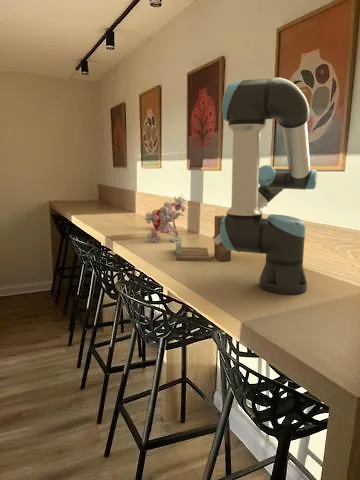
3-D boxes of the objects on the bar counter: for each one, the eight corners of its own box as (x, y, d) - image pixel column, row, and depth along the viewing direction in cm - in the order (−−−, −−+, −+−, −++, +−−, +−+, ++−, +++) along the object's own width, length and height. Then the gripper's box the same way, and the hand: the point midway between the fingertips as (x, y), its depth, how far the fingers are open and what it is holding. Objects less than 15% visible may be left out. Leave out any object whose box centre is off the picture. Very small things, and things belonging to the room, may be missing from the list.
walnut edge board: (209, 261, 158) (209, 245, 157) (175, 260, 159) (175, 245, 157) (206, 250, 178) (207, 237, 177) (177, 250, 178) (177, 236, 177)
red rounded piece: (151, 228, 239) (150, 206, 236) (166, 228, 240) (166, 206, 238) (152, 231, 229) (152, 208, 226) (169, 231, 230) (169, 208, 228)
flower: (157, 232, 216) (145, 194, 202) (194, 231, 208) (185, 191, 195) (145, 254, 201) (131, 214, 187) (185, 253, 193) (174, 212, 179)
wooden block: (231, 260, 159) (231, 218, 155) (221, 261, 158) (221, 218, 154) (223, 255, 167) (224, 215, 164) (214, 256, 166) (214, 215, 163)
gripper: (265, 212, 151) (222, 252, 154) (256, 207, 169) (218, 243, 173) (252, 199, 150) (209, 239, 153) (245, 195, 168) (207, 231, 172)
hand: (214, 241), depth 163 cm, fingers closed on wooden block, 6 cm apart
